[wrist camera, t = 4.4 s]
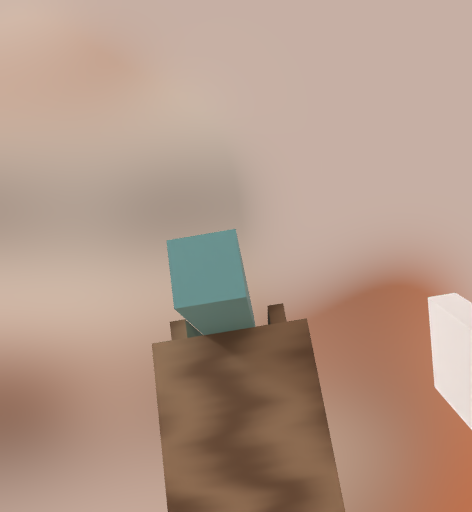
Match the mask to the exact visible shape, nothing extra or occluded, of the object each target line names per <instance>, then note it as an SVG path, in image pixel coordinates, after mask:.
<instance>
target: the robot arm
mask: <svg viewBox="0 0 472 512" xmlns="http://www.w3.org/2000/svg"><path fill="white" fill-rule="evenodd" d="M428 306H429V319H430V332H431V345H432V358H433V371H434V384H435V388H436V389H437V390H438V391H439V392H440V394H441V395H442V396H443V397H444V398H445V400H446V401H447V402H448V403H449V404H450V405H451V406H452V408H453V409H454V410H455V411H456V412H457V413H458V414H459V415H460V417H461V418H462V419H463V420H464V421H465V423H466V424H467V425H468V426H469V427H470V428H471V430H472V303H471V302H469V301H468V300H466V299H465V298H463V297H461V296H460V295H458V294H457V293H451V294H445V295H440V296H433V297H428Z"/></svg>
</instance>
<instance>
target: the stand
mask: <svg viewBox="0 0 472 512" xmlns="http://www.w3.org/2000/svg"><path fill="white" fill-rule="evenodd" d="M170 327H171V337H172V341H166V342H160V343H153V344H152V350H153V361H154V371H155V381H156V392H157V403H158V412H159V424H160V434H161V444H162V455H163V465H164V476H165V486H166V497H167V508H168V512H345V508H344V503H343V498H342V493H341V488H340V483H339V478H338V473H337V468H336V463H335V458H334V453H333V448H332V443H331V438H330V433H329V428H328V423H327V418H326V413H325V408H324V403H323V398H322V393H321V388H320V383H319V378H318V373H317V368H316V363H315V358H314V353H313V348H312V343H311V338H310V333H309V328H308V323H307V319H301V320H294V321H289V322H286V317H285V312H284V306H283V304H277V305H270V306H268V325H264V326H258V327H251V328H245V329H239V330H233V331H227V332H221V333H215V334H209V335H202V334H201V333H200V332H199V331H198V330H197V329H195V328H194V327H193V326H192V325H191V324H190V323H189V322H187V321H186V320H179V321H173V322H170Z"/></svg>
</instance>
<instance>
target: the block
mask: <svg viewBox="0 0 472 512" xmlns="http://www.w3.org/2000/svg"><path fill="white" fill-rule="evenodd" d="M167 248H168V257H169V266H170V275H171V283H172V293H173V302H174V309H175V310H176V311H177V312H179V313H180V314H181V315H182V316H183V317H184V318H185V319H186V320H188V321H189V322H190V323H191V324H192V325H193V326H194V327H195V328H197V329H198V330H199V331H200V332H201V333H202V334H203V335H209V334H215V333H221V332H227V331H233V330H239V329H245V328H251V327H255V321H254V315H253V311H252V306H251V301H250V296H249V292H248V287H247V282H246V277H245V272H244V268H243V263H242V258H241V254H240V248H239V244H238V239H237V234H236V229H233V230H227V231H220V232H214V233H209V234H203V235H197V236H191V237H185V238H179V239H173V240H167Z"/></svg>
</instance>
